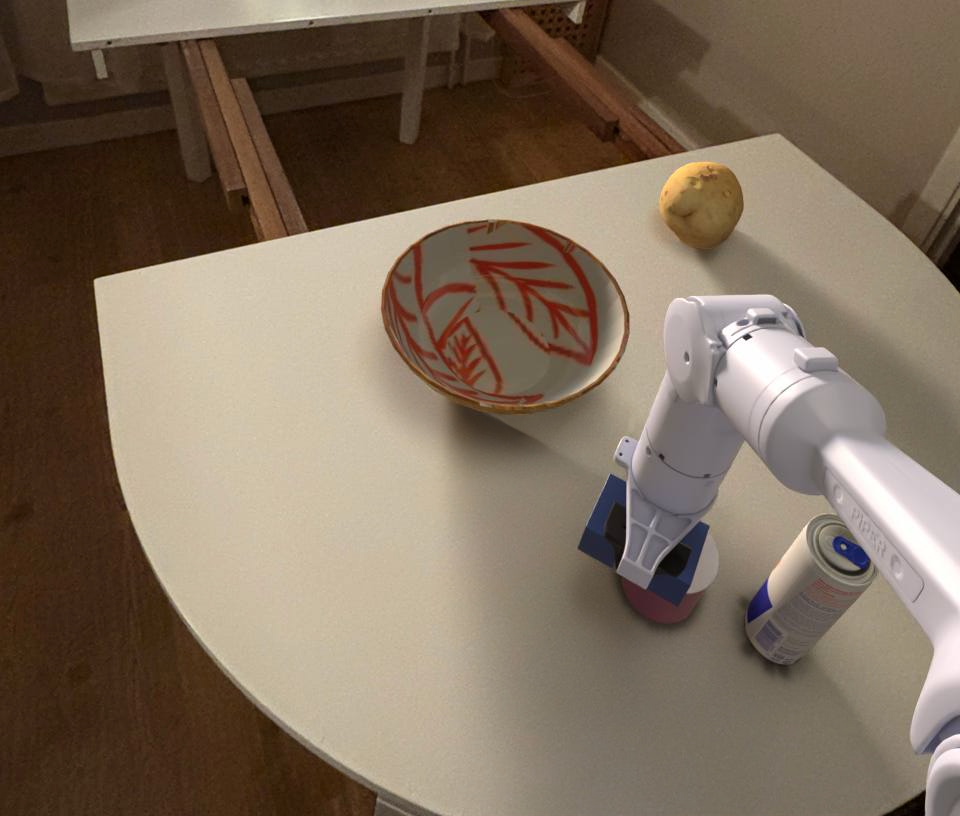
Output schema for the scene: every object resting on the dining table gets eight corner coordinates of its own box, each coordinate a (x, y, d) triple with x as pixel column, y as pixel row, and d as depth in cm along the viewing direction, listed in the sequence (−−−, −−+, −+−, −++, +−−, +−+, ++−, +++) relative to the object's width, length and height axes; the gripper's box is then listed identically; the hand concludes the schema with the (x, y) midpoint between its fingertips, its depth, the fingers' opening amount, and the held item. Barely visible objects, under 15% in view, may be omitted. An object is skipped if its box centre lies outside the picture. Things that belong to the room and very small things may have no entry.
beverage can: (810, 624, 63) (887, 537, 54) (795, 683, 60) (875, 600, 50) (750, 588, 65) (815, 497, 56) (732, 642, 61) (798, 556, 52)
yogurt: (712, 614, 63) (735, 581, 59) (639, 635, 61) (657, 603, 57) (675, 535, 68) (694, 500, 64) (607, 553, 66) (621, 518, 62)
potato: (737, 214, 104) (760, 156, 98) (722, 273, 95) (747, 213, 88) (664, 190, 106) (682, 132, 100) (642, 245, 97) (661, 185, 91)
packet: (697, 547, 59) (710, 524, 56) (677, 608, 55) (690, 586, 53) (601, 495, 61) (610, 471, 59) (576, 550, 58) (585, 526, 55)
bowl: (555, 251, 95) (566, 202, 90) (657, 421, 77) (677, 372, 72) (356, 290, 87) (355, 239, 82) (418, 490, 69) (422, 441, 64)
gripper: (666, 334, 55) (626, 439, 64) (590, 497, 45) (555, 596, 53) (763, 378, 53) (708, 481, 61) (706, 561, 43) (650, 654, 51)
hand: (643, 538), depth 57 cm, fingers closed on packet, 5 cm apart
